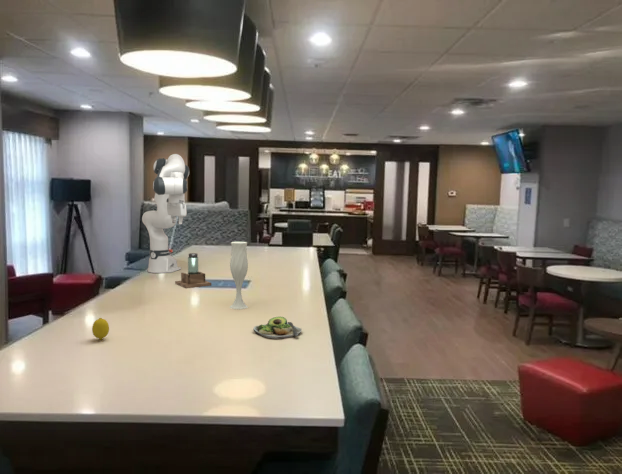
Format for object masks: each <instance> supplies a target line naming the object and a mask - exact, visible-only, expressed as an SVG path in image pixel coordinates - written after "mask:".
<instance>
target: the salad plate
mask: <svg viewBox="0 0 622 474" xmlns="http://www.w3.org/2000/svg"><path fill="white" fill-rule="evenodd" d="M253 332H254V333H255V334H257V335H259V336H262V337H264V338H268V339H273V340H282V339H287V338H294V337H298V336H299V334H300V333H301V332H302V328H300V327H298V326H295V325H294V323H293V322H292V321H288V320H287V318H286V317H283V316H276V317H272V318H270V319H269V320H268V321H267V324H259V325H255V326H253Z"/></svg>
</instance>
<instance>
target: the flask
mask: <svg viewBox="0 0 622 474" xmlns="http://www.w3.org/2000/svg"><path fill="white" fill-rule="evenodd" d="M198 255H199V254H198V253H197V252H196V253H195V252H191V253H188V257H187V274H189V275H193V274H198V271H199V256H198Z"/></svg>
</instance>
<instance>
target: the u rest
mask: <svg viewBox="0 0 622 474" xmlns="http://www.w3.org/2000/svg"><path fill="white" fill-rule="evenodd" d="M180 273H181V274H180V280H175V281H174V283H175V285H178V286H180V287H182V288H184V289H192V288H193V289H194V288H201V287H209V286H210V287H211V286H212V282H210V281H207V280H206V273H204V272H201V271H199V270H198V274H193V275H189V274H188V273H186V272H180Z"/></svg>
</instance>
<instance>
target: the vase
mask: <svg viewBox="0 0 622 474" xmlns="http://www.w3.org/2000/svg"><path fill="white" fill-rule="evenodd" d="M230 244H231V253H230V255H231V258H230V262H229V267H230V268H229V270H230V273H231V276H232V279H233V282H234V284H235V288H236V289H235V290H236V295H235V298H234V301H233V303H232V304H231V305H230V306H229V309H233V310H245V309H248V308H249V306H248V305H247V304H245V302H244V299H243V296H242V287H243V283H244V280H245V278H246V276H247V273H248V270H249V269H248V268H249V262H248V253H247V252H248V251H247V245H248V242H247V241H230Z"/></svg>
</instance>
